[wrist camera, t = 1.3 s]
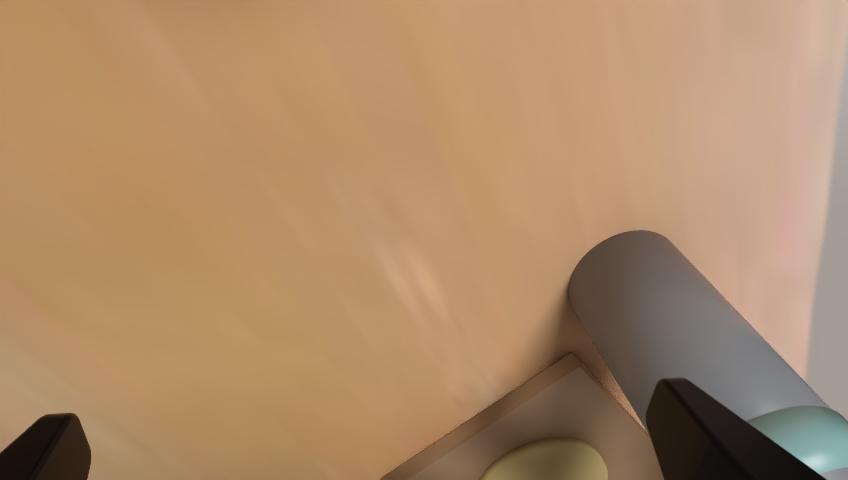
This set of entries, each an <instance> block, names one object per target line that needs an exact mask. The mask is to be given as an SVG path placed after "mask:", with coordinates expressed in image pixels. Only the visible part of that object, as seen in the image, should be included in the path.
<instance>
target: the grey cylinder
mask: <svg viewBox="0 0 848 480" xmlns="http://www.w3.org/2000/svg"><path fill="white" fill-rule="evenodd" d="M568 294H569V300H570V304H571V306H572V308H573V310H574V311H575V313H576V315H577V316H578V318H579V320H580V321H581V323H582V325H583V326H584V328H585V330H586V331H587V333H588V335H589V336H590V338H591V340H592V341H593V343H594V344H595V346H596V348H597V349H598V351H599V353H600V354H601V356H602V358H603V359H604V361H605V363H606V364H607V366H608V368H609V369H610V371H611V373H612V374H613V376H614V378H615V379H616V381H617V383H618V384H619V386H620V387H621V389H622V391H623V392H624V394H625V396H626V397H627V399H628V401H629V402H630V404H631V406H632V407H633V409H634V411H635V412H636V414H637V416H638V417H639V419H640V421H641V422H642V424H643V426H644V427H645V429H646V431H647V432H648V429H647V425H646V410H647V407H648V405H649V402H650V399H651V397H652V394H653V391H654V388H655V386H656V383H657V382H658V381H659V380H660V379H662V378H673V377H683V378H686V379H688V380H689V381H691V382H692V383H694V384H695V385H696V386H698V387H699V388H701V389H702V390H703V391H705V392H706V393H707V394H709V395H710V396H712V397H713V398H714V399H716V400H717V401H719V402H720V403H721V404H723V405H724V406H726V407H727V408H728V409H730V410H731V411H732V412H734V413H735V414H737V415H738V416H739V417H741V418H742V419H744V420H745V421H746V422H748V423H749V424H750V425H752V426H753V427H755V428H756V429H757V430H759V431H760V432H762V433H763V434H764V435H766V436H767V437H769V438H770V439H771V440H773V441H774V442H775V443H777V444H778V445H780V446H781V447H782V448H784V449H785V450H787V451H788V452H789V453H791V454H792V455H793V456H795V457H796V458H798V459H799V460H800V461H802V462H803V463H805V464H806V465H807V466H809V467H810V468H812V469H813V470H814V471H816V472H817V473H818V474H820V475H821V476H823V477H824V478H825V479H827V480H848V421H847V420H846V419H845V418H844V417H843V416H842V415H841V414H840V413H838V412H836V411H834V410H832V409H831V408H830V407H829V406H828V405H827V404H826V403H825V402H824V401H823V400H822V399H821V398H820V397H819V396H818V395H817V394H816V393H815V392H814V391H813V390H812V388H811V387H810V386H809V385H808V384H807V383H806V382H805V381H804V380H803V379H802V378H801V377H800V376H799V375H798V374H797V373H796V372H795V371H794V370H793V369H792V368H791V367H790V366H789V365H788V363H787V362H786V361H785V360H784V359H783V358H782V357H781V356H780V355H779V354H778V353H777V352H776V351H775V350H774V349H773V348H772V347H771V346H770V345H769V344H768V343H767V342H766V341H765V340H764V338H763V337H762V336H761V335H760V334H759V333H758V332H757V331H756V330H755V329H754V328H753V327H752V326H751V325H750V324H749V323H748V322H747V321H746V320H745V319H744V318H743V317H742V316H741V315H740V313H739V312H738V311H737V310H736V309H735V308H734V307H733V306H732V305H731V304H730V303H729V302H728V301H727V300H726V299H725V298H724V297H723V296H722V295H721V294H720V293H719V292H718V291H717V290H716V288H715V287H714V286H713V285H712V284H711V283H710V282H709V281H708V280H707V279H706V278H705V277H704V276H703V275H702V274H701V273H700V272H699V271H698V270H697V269H696V268H695V267H694V266H693V265H692V263H691V262H690V261H689V260H688V259H687V258H686V257H685V256H684V255H683V254H682V253H681V252H680V251H679V250H678V249H677V248H676V247H675V246H674V245H673V244H672V243H671V242H670V241H669V240H668V239H667V238H666V237H664V236H662V235H660V234H658V233H655V232H651V231H643V230H639V231H629V232H625V233H621V234H618V235H615V236H613V237H610V238H608V239H606V240H604V241H603V242H601V243H600V244H598V245H597V246H595V247H594V248H593V249H592V250H590V251H589V252H588V253H587V254H586V255H585V256H584V257H583V259H582V260H581V261H580V262H579V264H578V265H577V267H576V268H575V270H574V272H573V274H572V277H571V279H570V283H569V290H568ZM648 434H649V432H648Z"/></svg>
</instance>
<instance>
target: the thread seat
mask: <svg viewBox="0 0 848 480" xmlns="http://www.w3.org/2000/svg"><path fill="white" fill-rule="evenodd" d="M381 480H664V478H663V475H662V472H661V469H660V466H659V463H658V460H657V456H656V453H655V450H654V447H653V444H652V441H651V438H650V435H649V434H648V433H647V432H646V431H645V430H644V429H643V428H642V427H641V426H640V425H639V424H638V423H637V421H636V420H635V419H634V418H633V417H632V416H631V415H630V414H629V413H628V412H627V411H626V410H625V409H624V408H623V407H622V405H621V404H620V403H619V402H618V401H617V400H616V399H615V398H614V397H613V396H612V395H611V394H610V393H609V392H608V390H607V389H606V388H605V387H604V386H603V385H602V384H601V383H600V382H599V381H598V380H597V379H596V378H595V377H594V376H593V374H592V373H591V372H590V371H589V370H588V369H587V368H586V367H585V366H584V365H583V364H582V363H581V362H580V361H579V360H578V358H577V357H576V356H575V355H574V354H573V353H572V352H571V353H569V354H568V355H566V356H565V357H563V358H562V359H560V360H559V361H557V362H556V363H554V364H553V365H551V366H550V367H548V368H547V369H545V370H544V371H542V372H541V373H539V374H538V375H536V376H535V377H533V378H532V379H530V380H529V381H527V382H526V383H524V384H523V385H521V386H520V387H518V388H517V389H515V390H514V391H512V392H511V393H509V394H508V395H506V396H505V397H503V398H502V399H500V400H499V401H497V402H496V403H494V404H493V405H491V406H490V407H488V408H487V409H485V410H484V411H482V412H481V413H479V414H478V415H476V416H475V417H473V418H472V419H470V420H469V421H467V422H466V423H464V424H463V425H461V426H460V427H458V428H457V429H455V430H454V431H452V432H450V433H449V434H447V435H446V436H444V437H443V438H441V439H440V440H438V441H437V442H435V443H434V444H432V445H431V446H429V447H428V448H426V449H425V450H423V451H422V452H420V453H419V454H417V455H416V456H414V457H413V458H411V459H410V460H408V461H407V462H405V463H404V464H402V465H401V466H399V467H398V468H396V469H395V470H393V471H392V472H390V473H389V474H387V475H386V476H384V477H383V478H381Z"/></svg>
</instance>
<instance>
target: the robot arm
mask: <svg viewBox="0 0 848 480" xmlns="http://www.w3.org/2000/svg"><path fill="white" fill-rule="evenodd" d="M646 425H647V429H648V432H649V435H650V438H651V441H652V444H653V447H654V450H655V453H656V456H657V460H658V463H659V466H660V469H661V472H662V475H663V478H664V480H827V479H825V478H824V477H823V476H821V475H820V474H818V473H817V472H816V471H814V470H813V469H812V468H810V467H809V466H807V465H806V464H805V463H803V462H802V461H800V460H799V459H798V458H796V457H795V456H793V455H792V454H791V453H789V452H788V451H787V450H785V449H784V448H782V447H781V446H780V445H778V444H777V443H775V442H774V441H773V440H771V439H770V438H769V437H767V436H766V435H764V434H763V433H762V432H760V431H759V430H757V429H756V428H755V427H753V426H752V425H750V424H749V423H748V422H746V421H745V420H744V419H742V418H741V417H739V416H738V415H737V414H735V413H734V412H732V411H731V410H730V409H728V408H727V407H726V406H724V405H723V404H721V403H720V402H719V401H717V400H716V399H714V398H713V397H712V396H710V395H709V394H707V393H706V392H705V391H703V390H702V389H701V388H699V387H698V386H696V385H695V384H694V383H692V382H691V381H689V380H688V379H686V378H683V377H673V378H662V379H660V380H659V381H658V382H657V383H656V386H655V388H654V391H653V394H652V397H651V399H650V402H649V405H648V407H647V410H646ZM90 464H91V450H90V446H89V444H88V441H87V438H86V436H85V433H84V430H83V428H82V425H81V423H80V420H79V418H78V416H76V415H75V414H74V413H60V414H48V415H44V416H43V417H41V418H39V419H38V420H37V421H36V422H35V423H34V424H32V425H31V426H30V427H29V428H28V429H27V430H26V431H25V432H23V433H22V434H21V435H20V436H19V437H18V438H17V439H15V440H14V441H13V442H12V443H11V444H10V445H9V446H8V447H6V448H5V449H4V450H3V451H2V452H1V453H0V480H87V478H88V474H89V469H90Z"/></svg>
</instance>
